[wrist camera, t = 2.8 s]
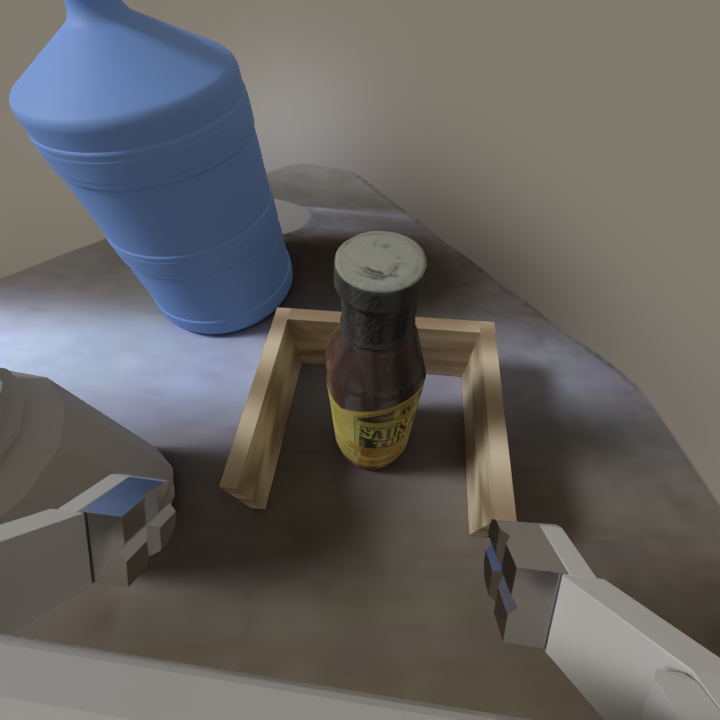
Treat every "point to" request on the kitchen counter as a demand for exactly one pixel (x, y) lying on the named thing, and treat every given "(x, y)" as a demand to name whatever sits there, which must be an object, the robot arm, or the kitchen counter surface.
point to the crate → (441, 356)
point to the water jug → (161, 160)
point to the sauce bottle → (376, 347)
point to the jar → (60, 447)
